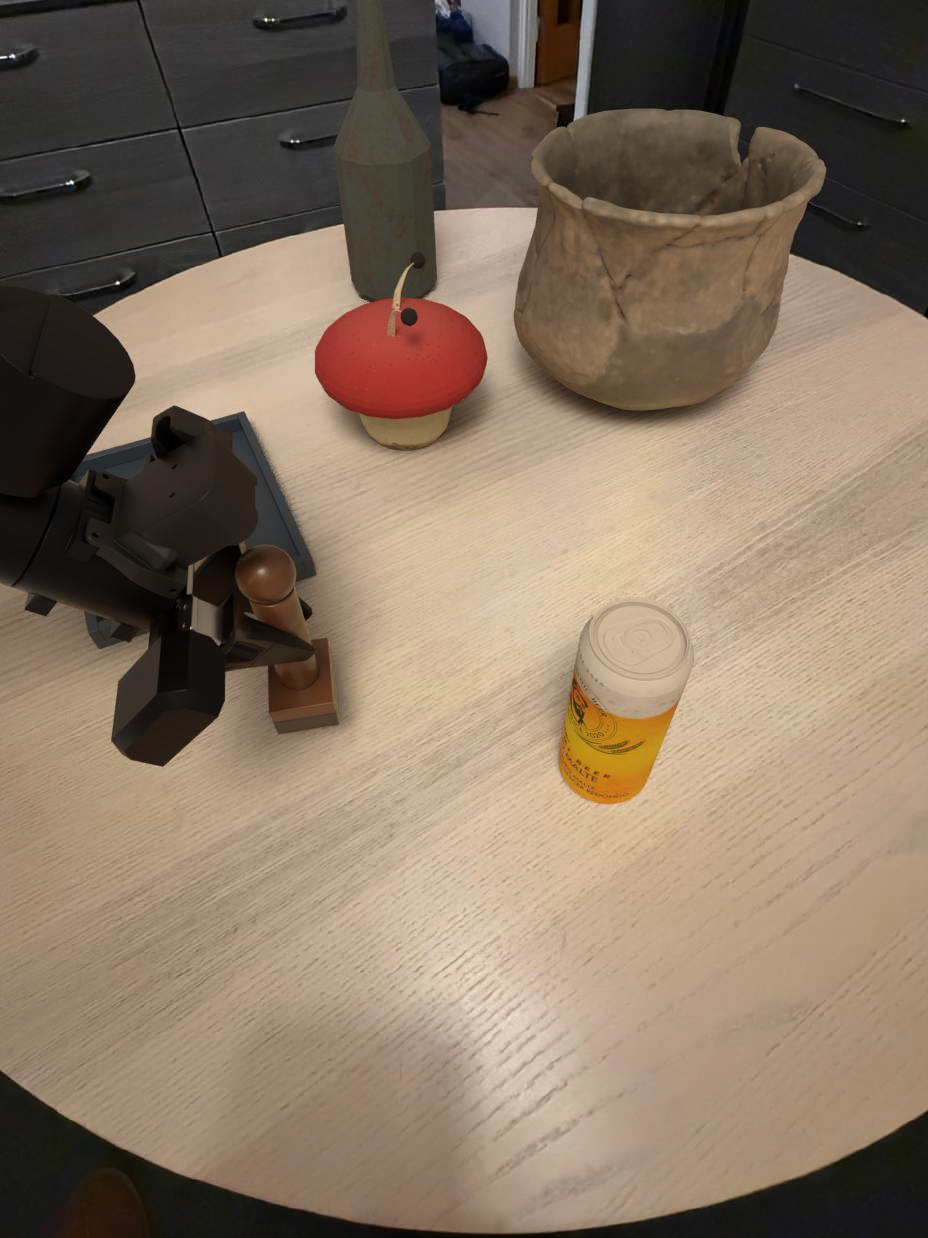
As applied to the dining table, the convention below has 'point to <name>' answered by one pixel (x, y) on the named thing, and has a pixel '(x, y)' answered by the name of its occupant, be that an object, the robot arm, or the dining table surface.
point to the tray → (269, 502)
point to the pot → (659, 253)
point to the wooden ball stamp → (298, 687)
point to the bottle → (384, 174)
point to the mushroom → (401, 365)
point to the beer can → (623, 697)
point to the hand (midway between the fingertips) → (310, 635)
